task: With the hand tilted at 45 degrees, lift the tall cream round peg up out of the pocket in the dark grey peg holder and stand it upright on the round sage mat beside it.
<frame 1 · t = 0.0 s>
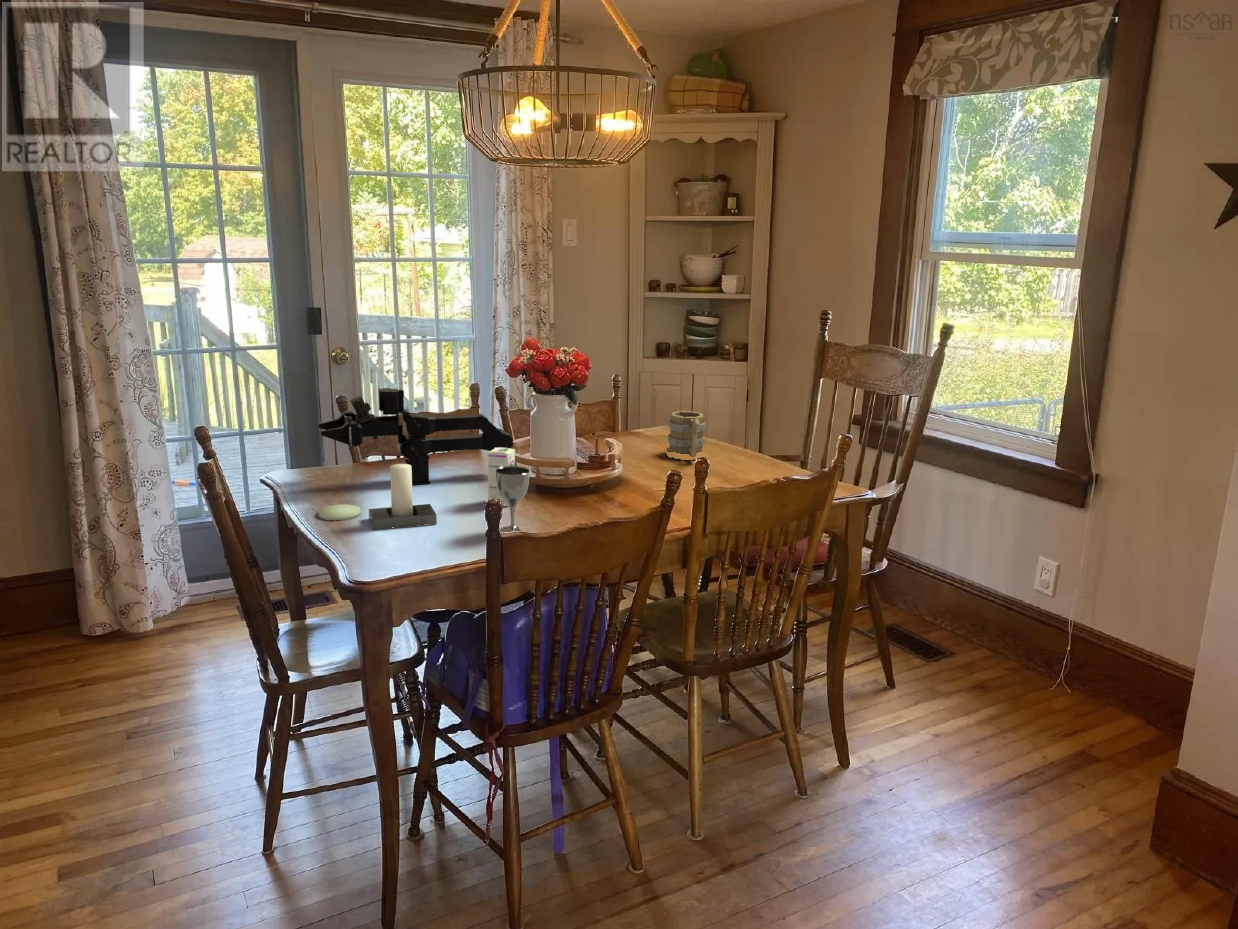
hand: (319, 429, 238), 17 cm above the table, tool horizontal, fingers open, 9 cm apart
syrup box: (501, 503, 234), on the table
sage mat: (339, 514, 221), on the table
dark grey peg holder: (402, 521, 217), on the table
cream round peg: (401, 494, 216), in the dark grey peg holder
wine glass: (512, 531, 214), on the table
tankard: (687, 459, 286), on the table
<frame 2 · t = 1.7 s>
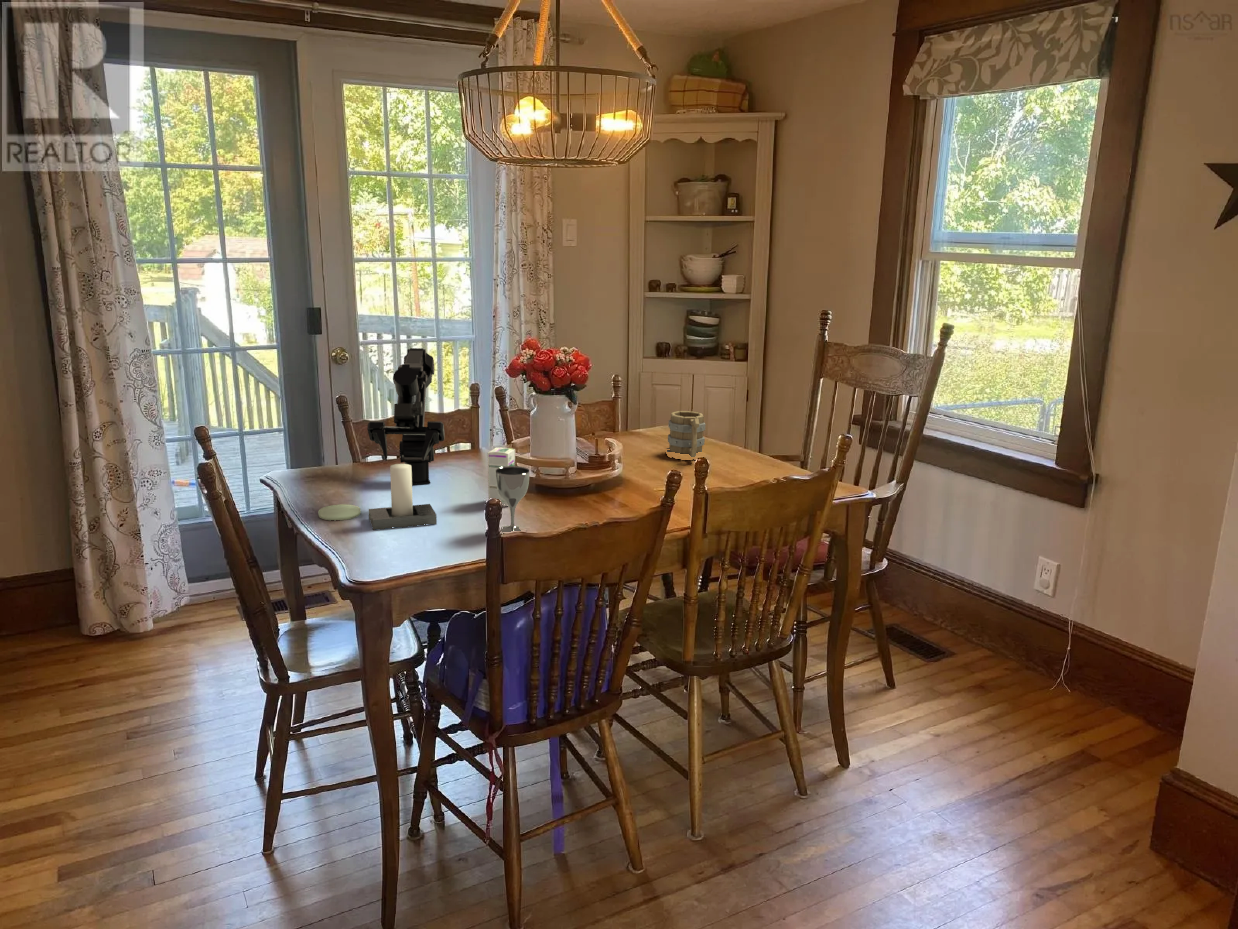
hand: (404, 459, 222), 14 cm above the table, tool tilted 45°, fingers open, 9 cm apart
nothing on the table moved.
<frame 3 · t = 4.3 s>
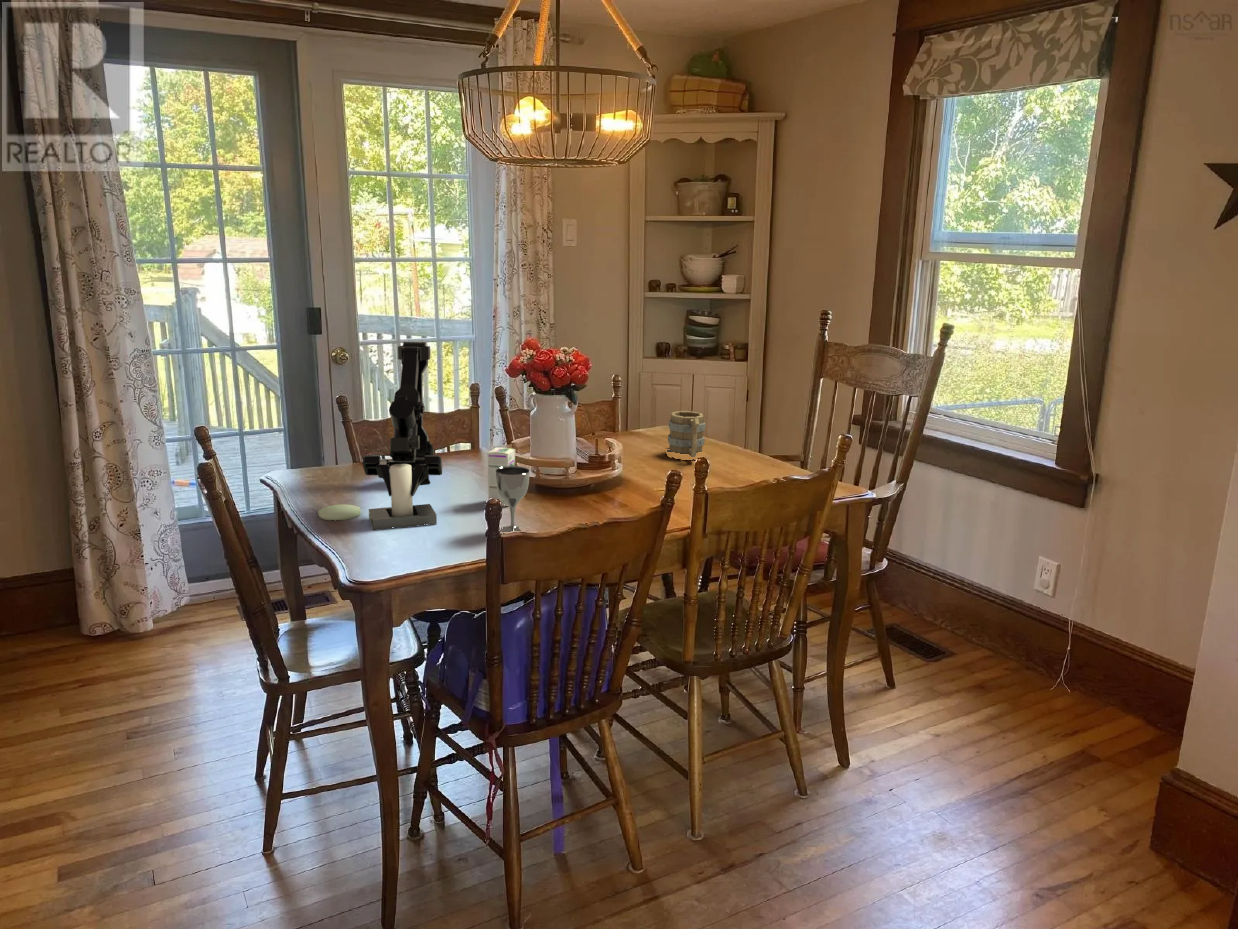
hand: (401, 495, 214), 7 cm above the table, tool tilted 45°, fingers closed on cream round peg, 5 cm apart
cream round peg: (401, 494, 216), in the dark grey peg holder, touching gripper
everything else where it was.
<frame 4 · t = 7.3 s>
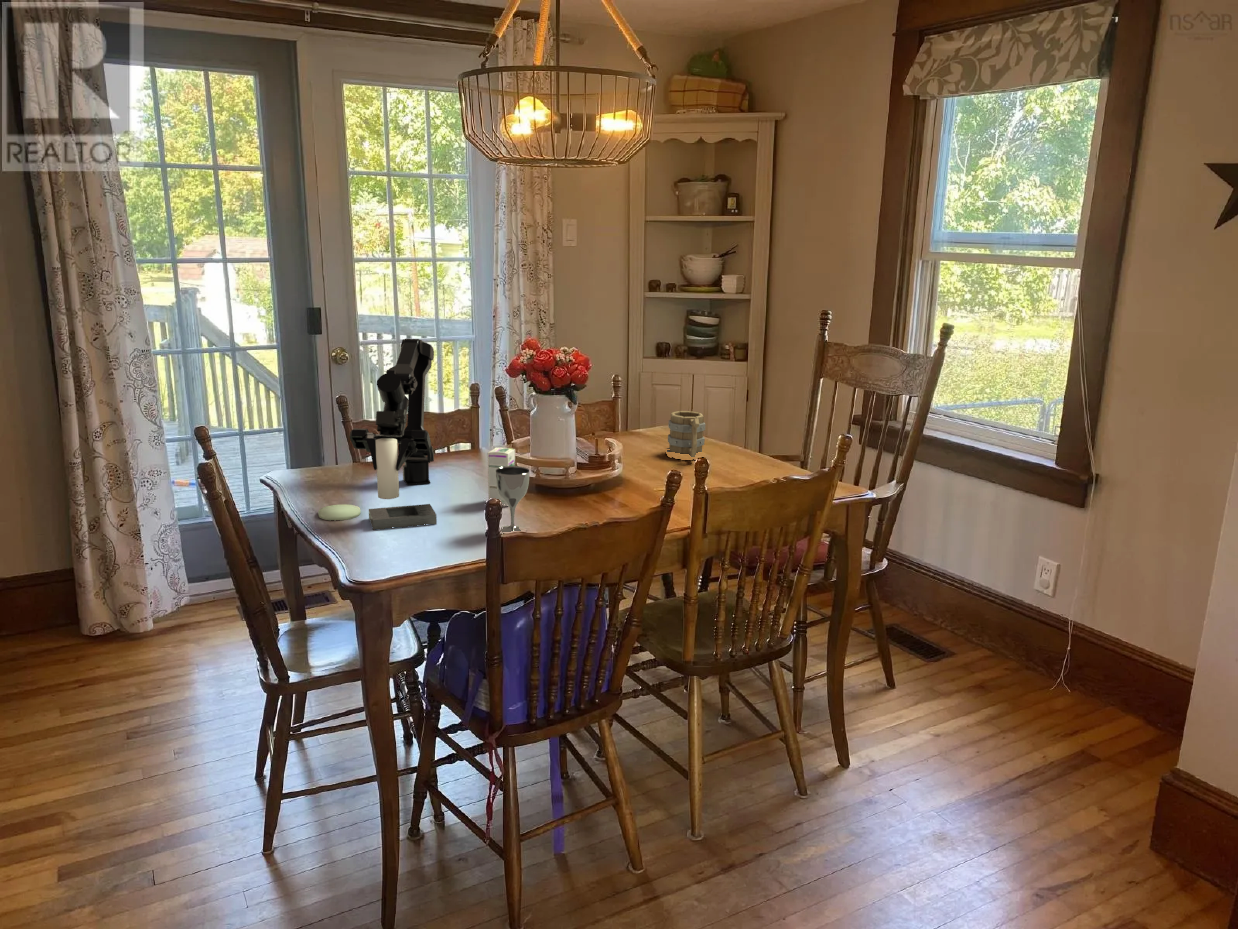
hand: (386, 469, 213), 13 cm above the table, tool tilted 45°, fingers closed on cream round peg, 5 cm apart
cream round peg: (387, 468, 214), point 13 cm above the table, touching gripper
everything else where it was.
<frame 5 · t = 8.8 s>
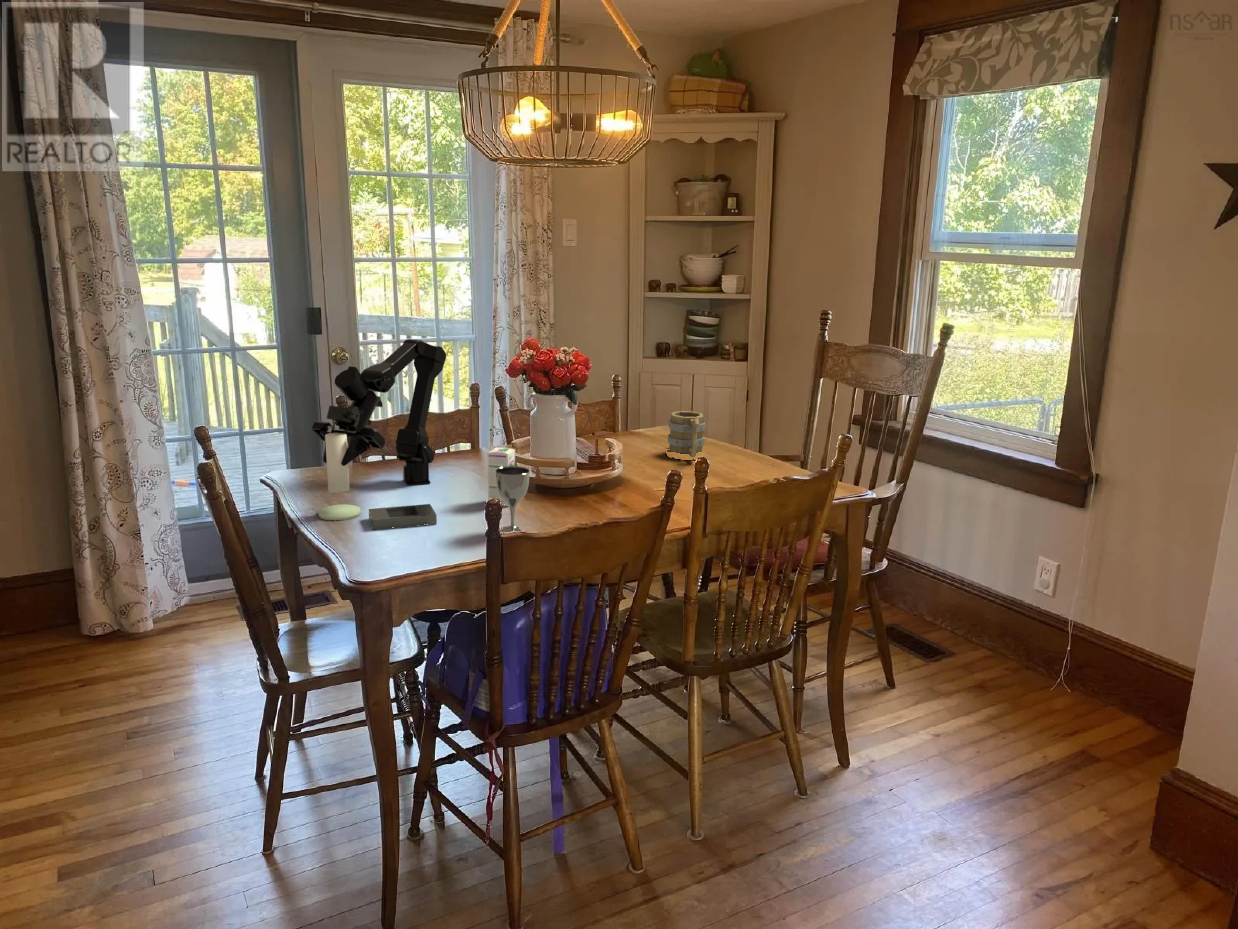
hand: (333, 463, 217), 13 cm above the table, tool tilted 45°, fingers closed on cream round peg, 5 cm apart
cream round peg: (337, 462, 218), point 13 cm above the table, touching gripper
everything else where it was.
when the fingers open (9 cm above the table, at t = 10.2 s): cream round peg stays where it is, resting on sage mat.
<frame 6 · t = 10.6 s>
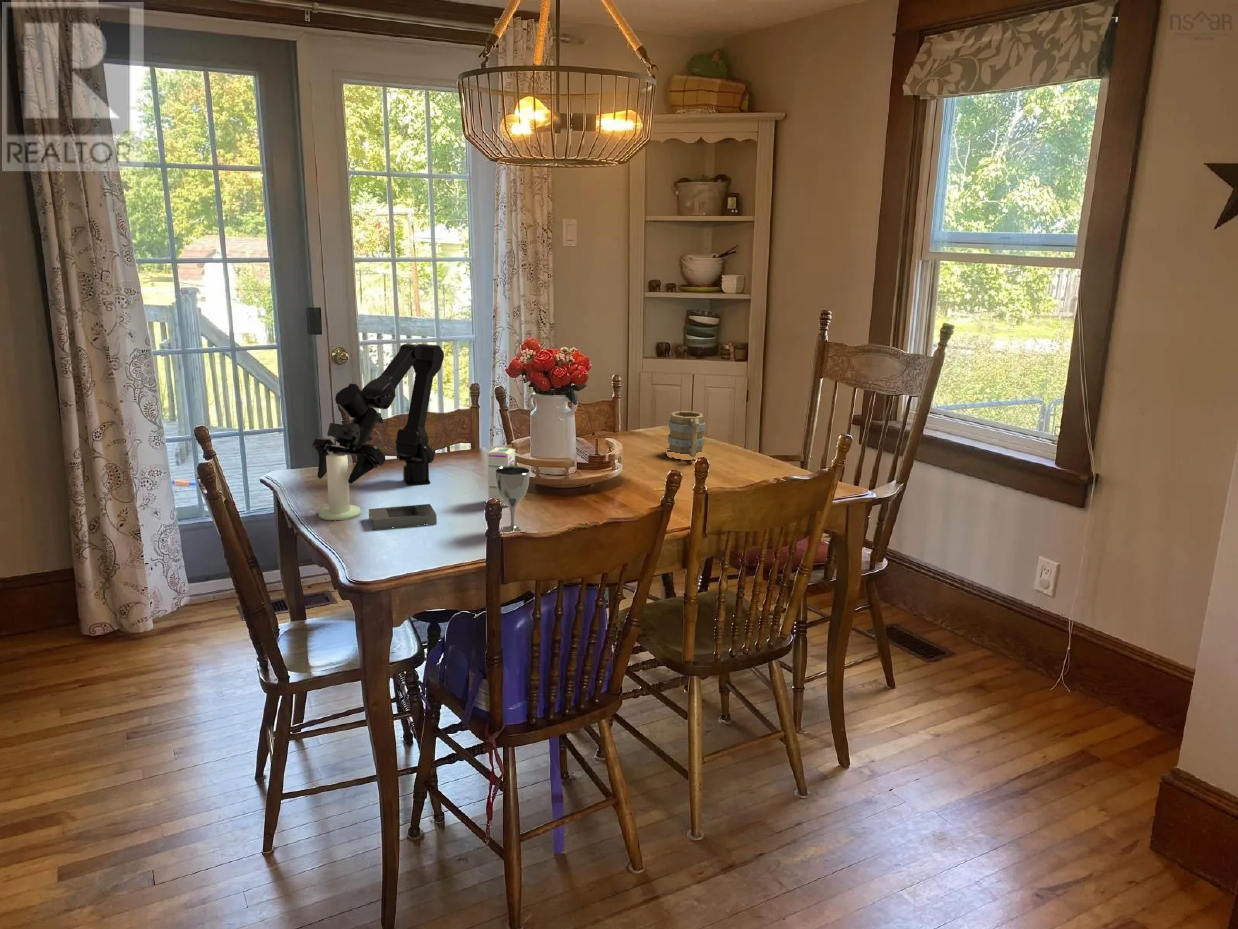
hand: (334, 480, 218), 9 cm above the table, tool tilted 45°, fingers open, 9 cm apart
cream round peg: (338, 483, 219), on the sage mat, point 8 cm above the table
everything else where it was.
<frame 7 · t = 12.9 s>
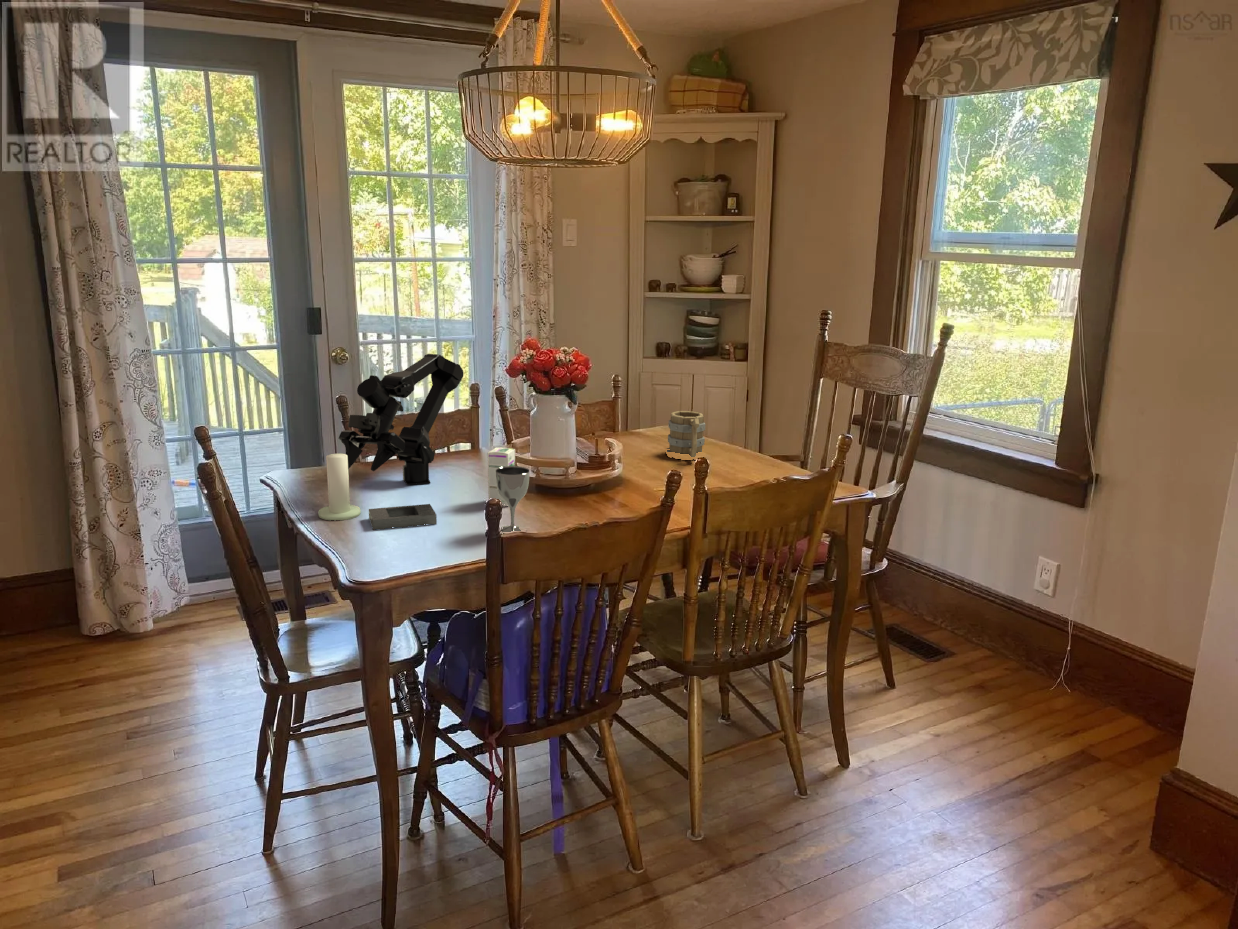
hand: (359, 469, 227), 10 cm above the table, tool tilted 40°, fingers open, 9 cm apart
nothing on the table moved.
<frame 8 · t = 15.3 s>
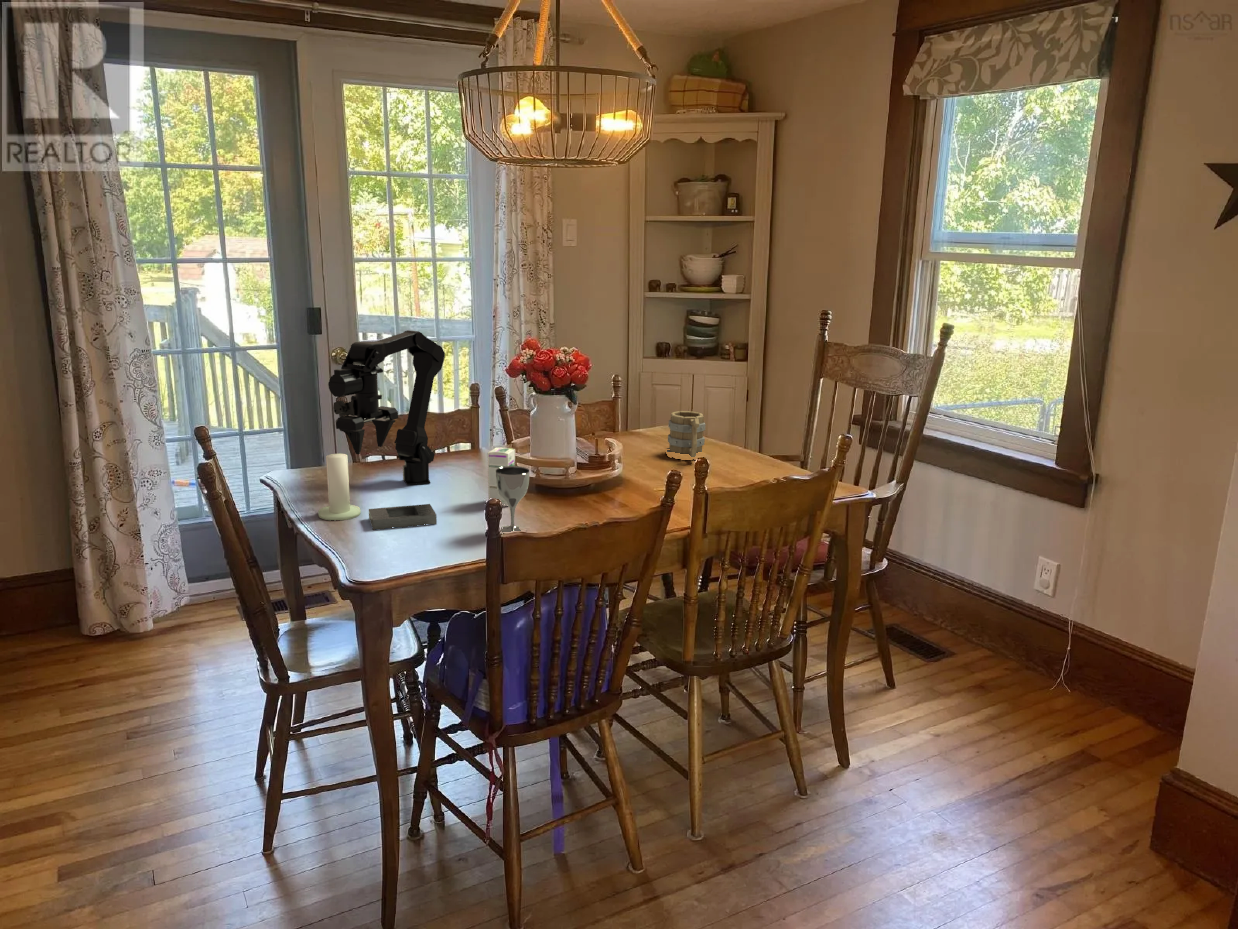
hand: (369, 450, 232), 13 cm above the table, tool pointing down, fingers open, 9 cm apart
nothing on the table moved.
at the end: cream round peg 0.1 cm off-centre on the sage mat, point 8.0 cm above the sage mat's base; cream round peg tilted 0°; the gripper is holding nothing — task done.
